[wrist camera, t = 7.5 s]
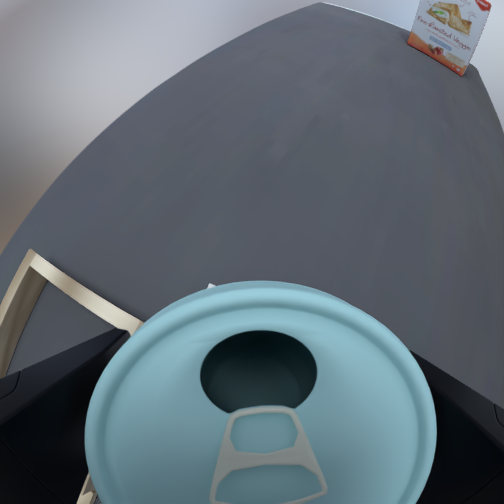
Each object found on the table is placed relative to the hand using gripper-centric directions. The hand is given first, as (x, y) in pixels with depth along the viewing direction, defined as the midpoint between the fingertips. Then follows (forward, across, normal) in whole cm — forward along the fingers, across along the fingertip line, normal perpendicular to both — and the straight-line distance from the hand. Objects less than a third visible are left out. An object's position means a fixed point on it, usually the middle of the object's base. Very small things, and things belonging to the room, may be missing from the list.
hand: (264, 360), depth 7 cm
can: (+5, 0, +7) cm, 9 cm away
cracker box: (+47, -35, -35) cm, 68 cm away
